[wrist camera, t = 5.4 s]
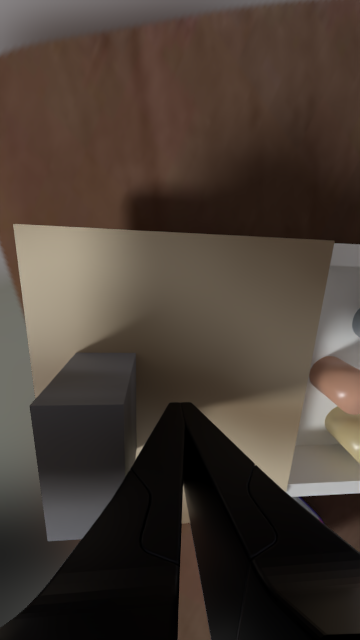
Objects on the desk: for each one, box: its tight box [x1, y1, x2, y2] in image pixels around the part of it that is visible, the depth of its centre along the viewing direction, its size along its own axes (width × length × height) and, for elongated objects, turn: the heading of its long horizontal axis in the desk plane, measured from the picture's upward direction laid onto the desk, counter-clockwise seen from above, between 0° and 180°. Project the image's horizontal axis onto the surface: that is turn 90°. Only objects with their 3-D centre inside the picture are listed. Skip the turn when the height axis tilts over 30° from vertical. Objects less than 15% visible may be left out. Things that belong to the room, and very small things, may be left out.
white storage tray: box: [286, 243, 360, 497], centre depth 12 cm, size 12×10×3 cm
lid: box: [13, 224, 335, 541], centre depth 8 cm, size 12×10×4 cm
